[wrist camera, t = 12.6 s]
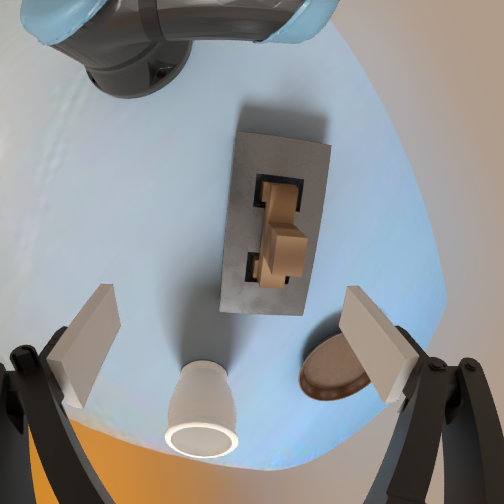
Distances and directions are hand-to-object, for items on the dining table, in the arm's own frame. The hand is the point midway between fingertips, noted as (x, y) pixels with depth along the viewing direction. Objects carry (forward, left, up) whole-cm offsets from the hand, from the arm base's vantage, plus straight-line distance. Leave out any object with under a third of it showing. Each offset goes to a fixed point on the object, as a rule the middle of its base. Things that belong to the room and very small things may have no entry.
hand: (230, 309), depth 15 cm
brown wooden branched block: (+1, +6, -25) cm, 26 cm away
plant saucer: (+25, +23, -26) cm, 42 cm away
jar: (+29, -2, -25) cm, 38 cm away
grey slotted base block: (+1, +6, -25) cm, 26 cm away
